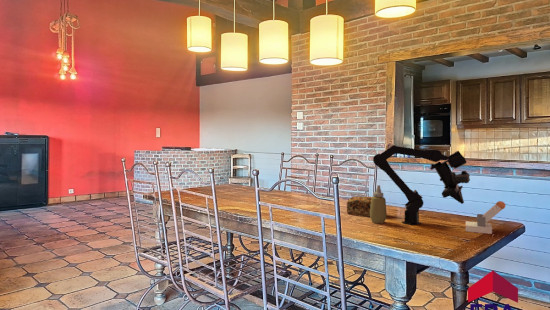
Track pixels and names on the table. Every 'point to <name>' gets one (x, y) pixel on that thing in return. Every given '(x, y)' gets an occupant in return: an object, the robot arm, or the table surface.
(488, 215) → the lever
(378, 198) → the squeeze bottle
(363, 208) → the bread
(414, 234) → the table surface
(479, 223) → the block
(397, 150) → the robot arm
